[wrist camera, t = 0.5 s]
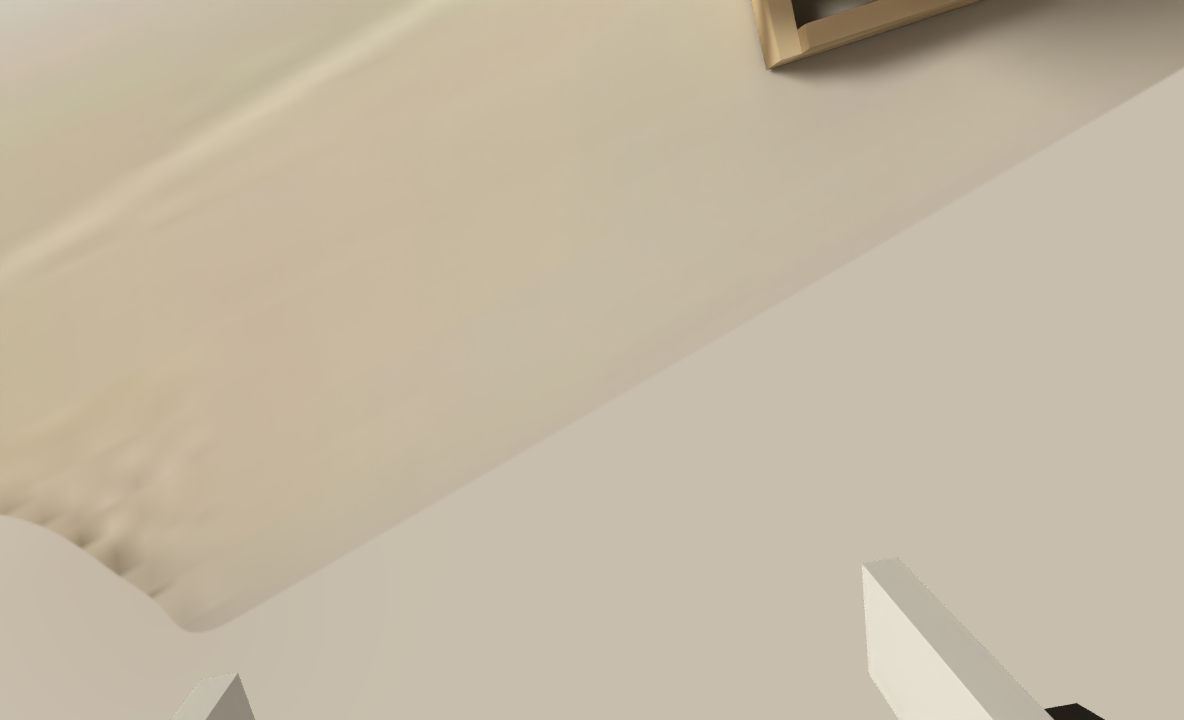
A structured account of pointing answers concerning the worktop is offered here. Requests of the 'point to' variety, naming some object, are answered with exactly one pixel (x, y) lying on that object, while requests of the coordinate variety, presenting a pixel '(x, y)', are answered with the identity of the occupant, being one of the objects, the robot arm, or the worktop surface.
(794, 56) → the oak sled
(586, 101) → the worktop surface
